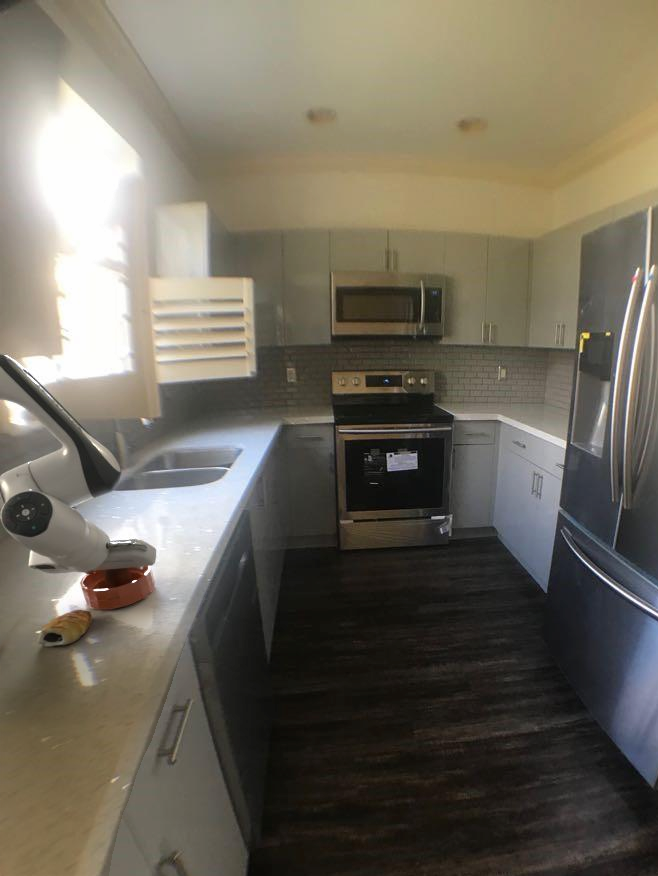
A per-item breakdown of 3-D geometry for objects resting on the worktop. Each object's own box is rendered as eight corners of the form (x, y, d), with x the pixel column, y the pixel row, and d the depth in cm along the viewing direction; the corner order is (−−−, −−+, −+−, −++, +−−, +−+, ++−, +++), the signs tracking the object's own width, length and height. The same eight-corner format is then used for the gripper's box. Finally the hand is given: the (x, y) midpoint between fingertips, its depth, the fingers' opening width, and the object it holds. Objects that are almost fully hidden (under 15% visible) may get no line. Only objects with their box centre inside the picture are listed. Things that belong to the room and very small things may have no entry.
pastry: (69, 617, 90) (64, 601, 89) (103, 617, 90) (98, 600, 89) (36, 648, 82) (29, 630, 80) (73, 648, 82) (68, 630, 80)
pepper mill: (107, 600, 95) (93, 551, 91) (111, 589, 99) (98, 542, 95) (133, 595, 96) (120, 547, 92) (136, 584, 101) (123, 538, 97)
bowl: (80, 617, 90) (73, 596, 88) (94, 586, 102) (88, 566, 100) (152, 603, 94) (147, 582, 92) (157, 574, 106) (153, 555, 104)
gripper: (142, 526, 86) (168, 550, 99) (25, 534, 84) (67, 558, 96) (139, 558, 84) (166, 578, 96) (18, 567, 81) (62, 587, 94)
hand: (116, 568), depth 96 cm, fingers open, 8 cm apart
